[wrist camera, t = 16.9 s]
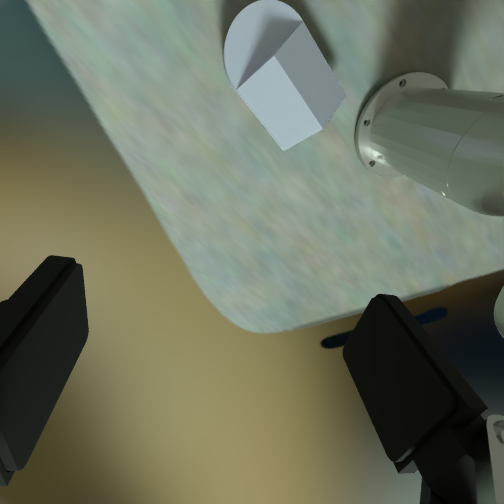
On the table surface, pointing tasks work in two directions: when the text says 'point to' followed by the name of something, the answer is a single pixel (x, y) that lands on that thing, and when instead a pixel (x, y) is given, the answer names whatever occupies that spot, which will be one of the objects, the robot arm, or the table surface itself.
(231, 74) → the white angular piece
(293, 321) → the table surface
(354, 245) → the table surface
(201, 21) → the table surface
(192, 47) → the table surface
